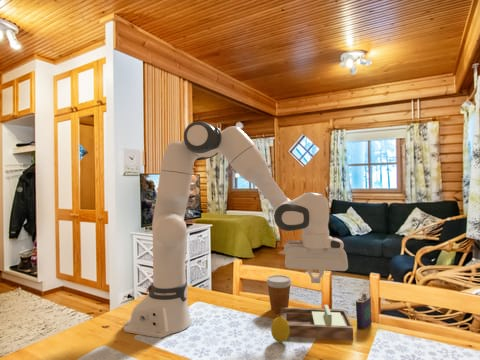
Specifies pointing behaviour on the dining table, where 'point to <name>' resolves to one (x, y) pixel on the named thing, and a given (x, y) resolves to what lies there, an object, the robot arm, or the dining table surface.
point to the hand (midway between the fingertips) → (315, 282)
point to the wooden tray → (305, 327)
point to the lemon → (280, 329)
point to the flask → (363, 311)
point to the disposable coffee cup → (278, 292)
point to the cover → (328, 317)
